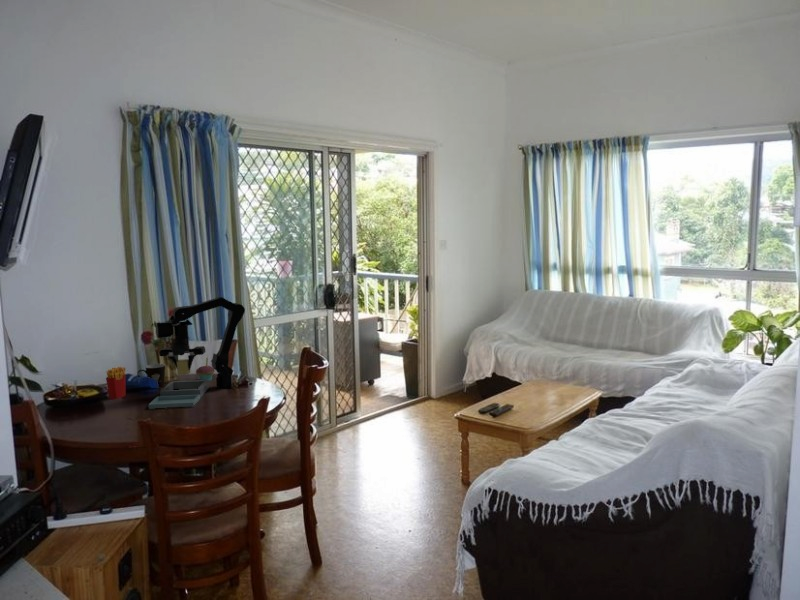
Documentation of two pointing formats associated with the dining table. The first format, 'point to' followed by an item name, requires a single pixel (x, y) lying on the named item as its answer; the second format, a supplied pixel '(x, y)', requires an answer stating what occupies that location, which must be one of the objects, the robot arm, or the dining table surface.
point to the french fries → (116, 382)
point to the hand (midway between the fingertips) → (183, 370)
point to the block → (183, 367)
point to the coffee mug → (155, 373)
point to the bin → (185, 388)
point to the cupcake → (205, 371)
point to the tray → (174, 401)
